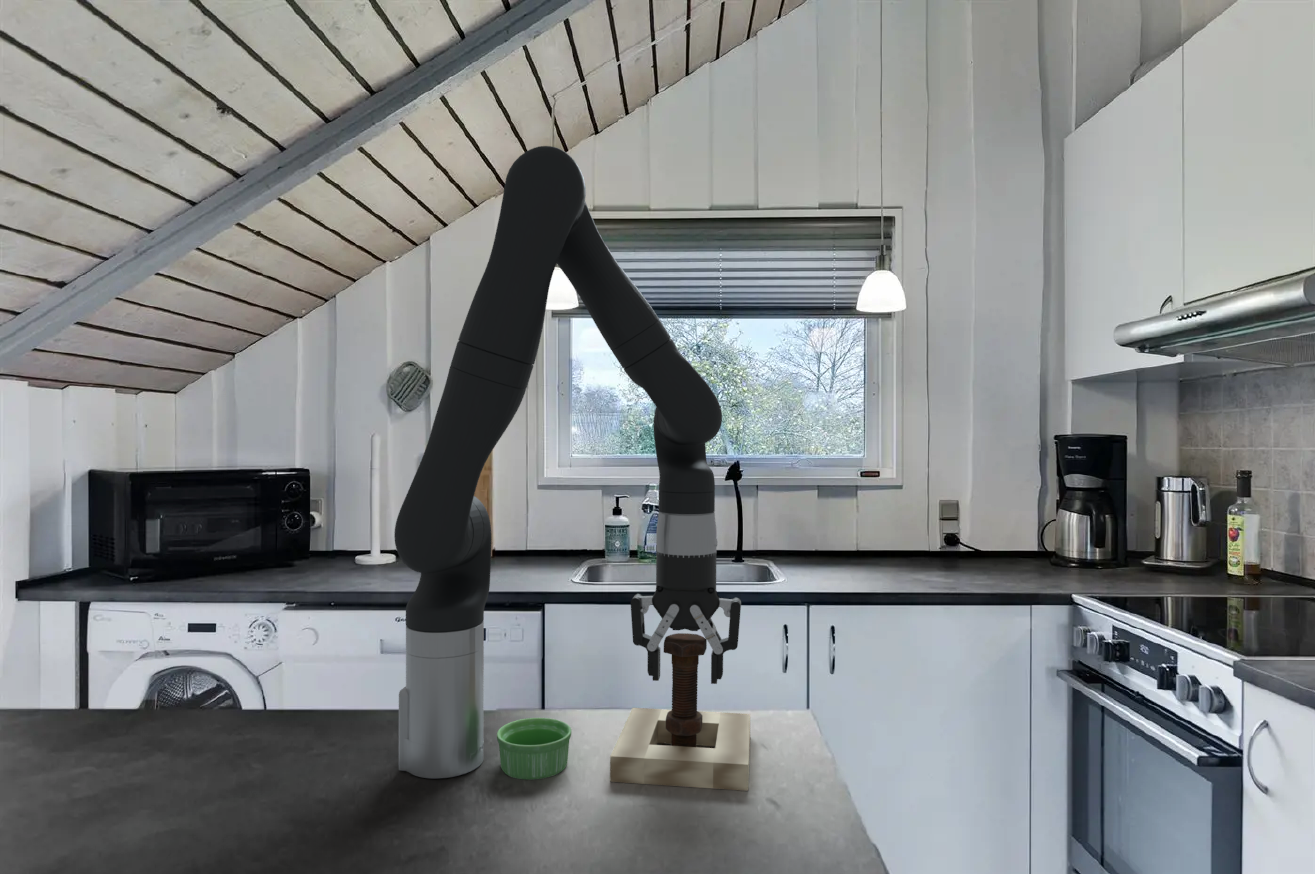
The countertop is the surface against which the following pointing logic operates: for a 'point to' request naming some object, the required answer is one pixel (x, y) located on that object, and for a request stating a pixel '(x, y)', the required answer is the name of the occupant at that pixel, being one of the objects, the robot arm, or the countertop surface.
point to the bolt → (684, 687)
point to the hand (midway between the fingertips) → (685, 680)
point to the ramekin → (534, 748)
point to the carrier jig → (683, 752)
